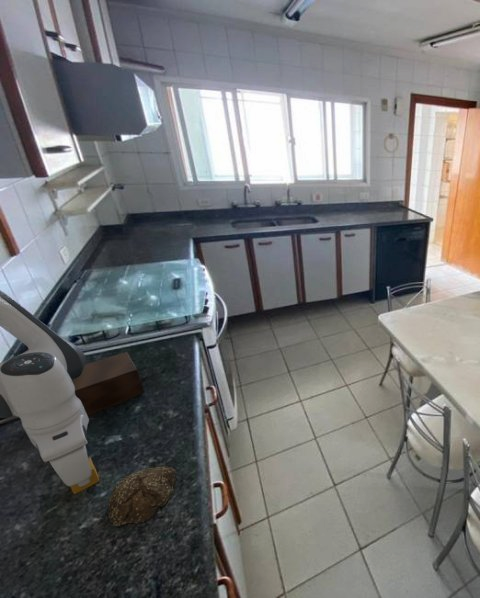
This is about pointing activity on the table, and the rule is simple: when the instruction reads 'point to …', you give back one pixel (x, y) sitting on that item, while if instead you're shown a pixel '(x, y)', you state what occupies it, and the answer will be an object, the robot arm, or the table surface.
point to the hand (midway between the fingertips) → (81, 469)
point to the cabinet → (107, 383)
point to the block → (92, 479)
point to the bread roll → (141, 495)
